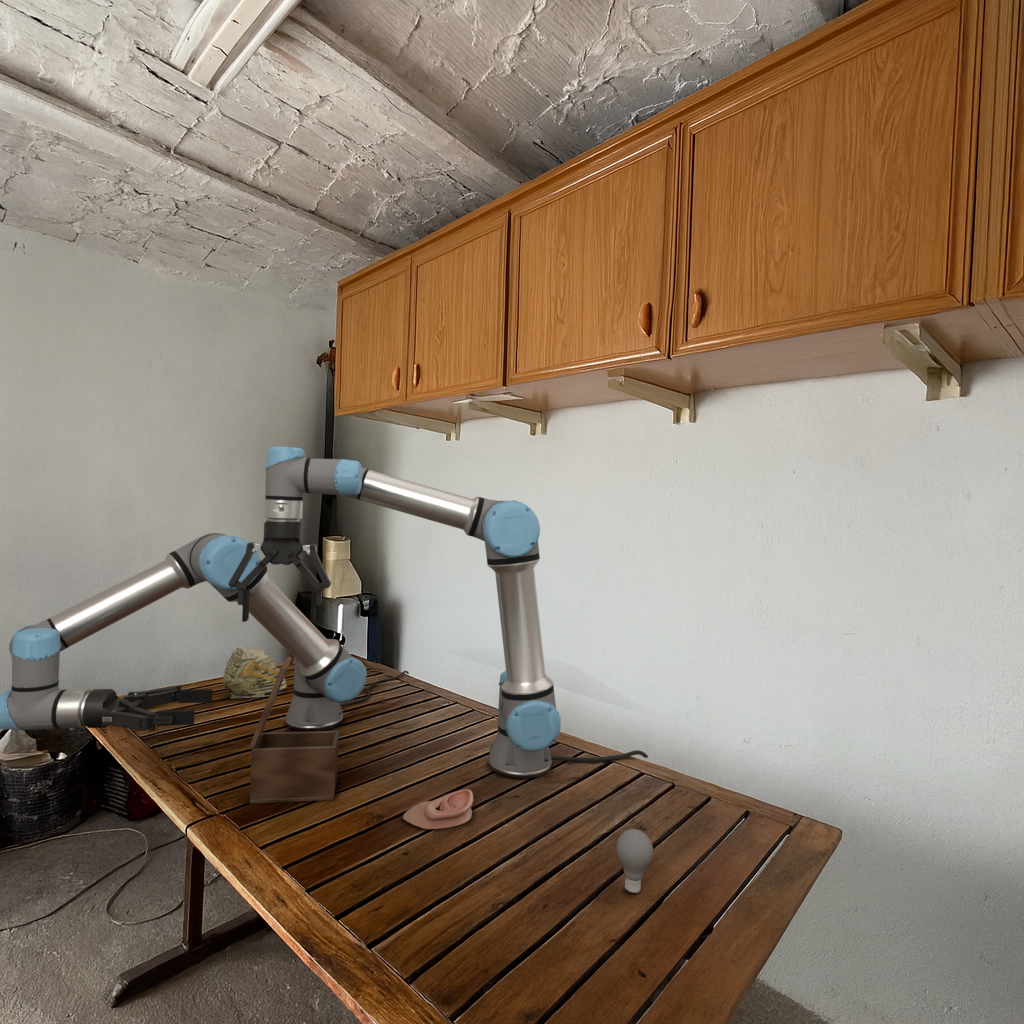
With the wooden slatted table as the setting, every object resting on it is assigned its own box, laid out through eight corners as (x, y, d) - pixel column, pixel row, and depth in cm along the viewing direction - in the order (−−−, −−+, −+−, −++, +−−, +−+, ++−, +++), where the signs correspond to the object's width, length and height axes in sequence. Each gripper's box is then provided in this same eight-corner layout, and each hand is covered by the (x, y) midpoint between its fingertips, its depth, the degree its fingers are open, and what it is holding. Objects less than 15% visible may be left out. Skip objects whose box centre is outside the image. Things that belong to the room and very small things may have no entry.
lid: (292, 657, 139) (256, 645, 138) (285, 669, 130) (247, 656, 129) (262, 730, 138) (226, 720, 137) (254, 747, 129) (215, 736, 128)
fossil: (218, 695, 195) (220, 647, 195) (278, 685, 208) (279, 640, 207) (228, 703, 189) (230, 653, 188) (289, 692, 201) (290, 645, 201)
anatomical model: (397, 804, 123) (417, 779, 135) (396, 824, 123) (417, 798, 135) (462, 814, 121) (478, 788, 132) (462, 835, 121) (477, 807, 132)
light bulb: (610, 879, 108) (613, 822, 108) (644, 879, 109) (647, 822, 109) (619, 902, 102) (622, 840, 102) (655, 901, 103) (658, 840, 103)
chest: (337, 780, 142) (339, 730, 142) (333, 800, 133) (335, 747, 132) (258, 783, 139) (260, 732, 138) (249, 804, 129) (251, 749, 129)
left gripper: (114, 706, 139) (217, 704, 144) (57, 751, 115) (184, 747, 119) (115, 672, 139) (219, 671, 144) (58, 710, 115) (185, 707, 119)
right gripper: (215, 518, 127) (211, 623, 128) (343, 523, 132) (339, 624, 133) (224, 517, 135) (220, 616, 135) (345, 521, 140) (341, 617, 140)
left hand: (203, 706), depth 131 cm, fingers open, 13 cm apart
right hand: (279, 620), depth 134 cm, fingers open, 13 cm apart
